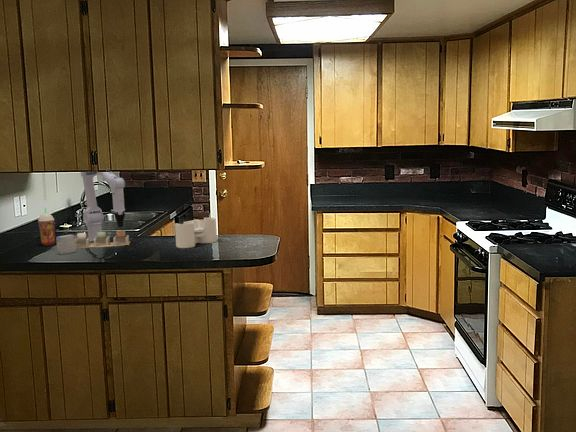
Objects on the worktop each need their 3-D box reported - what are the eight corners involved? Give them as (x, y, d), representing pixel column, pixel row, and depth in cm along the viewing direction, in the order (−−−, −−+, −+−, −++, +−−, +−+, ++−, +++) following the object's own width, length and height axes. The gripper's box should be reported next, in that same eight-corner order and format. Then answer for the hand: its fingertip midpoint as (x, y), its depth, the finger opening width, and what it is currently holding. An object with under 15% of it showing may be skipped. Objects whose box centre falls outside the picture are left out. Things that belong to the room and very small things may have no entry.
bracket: (187, 248, 307) (185, 224, 305) (173, 247, 313) (172, 223, 311) (220, 240, 327) (219, 218, 326) (207, 239, 333) (206, 217, 331)
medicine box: (71, 251, 312) (70, 234, 311) (76, 252, 309) (75, 235, 308) (57, 253, 306) (55, 236, 305) (62, 254, 303) (60, 237, 302)
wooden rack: (76, 245, 329) (75, 237, 329) (130, 241, 334) (129, 234, 333) (72, 249, 317) (71, 241, 317) (128, 245, 322) (127, 238, 321)
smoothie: (37, 245, 334) (34, 208, 332) (52, 242, 340) (48, 206, 338) (44, 246, 329) (41, 209, 326) (59, 244, 335) (56, 207, 332)
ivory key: (78, 240, 325) (77, 233, 325) (87, 240, 326) (86, 232, 325) (77, 242, 321) (76, 234, 320) (85, 241, 322) (85, 233, 321)
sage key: (98, 239, 327) (97, 231, 326) (106, 238, 328) (105, 231, 327) (96, 240, 323) (96, 233, 322) (105, 240, 323) (104, 232, 323)
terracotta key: (117, 238, 328) (116, 230, 328) (125, 237, 329) (125, 230, 329) (116, 239, 324) (115, 232, 324) (125, 239, 325) (124, 231, 324)
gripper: (109, 200, 329) (111, 225, 331) (111, 203, 316) (113, 229, 318) (123, 199, 332) (125, 224, 334) (125, 202, 318) (127, 227, 320)
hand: (120, 226), depth 326 cm, fingers open, 3 cm apart
